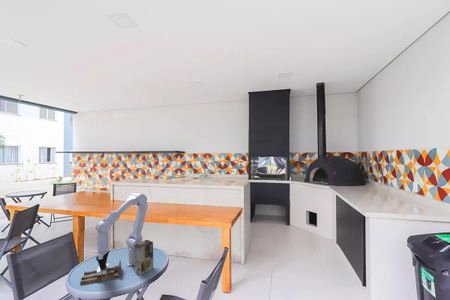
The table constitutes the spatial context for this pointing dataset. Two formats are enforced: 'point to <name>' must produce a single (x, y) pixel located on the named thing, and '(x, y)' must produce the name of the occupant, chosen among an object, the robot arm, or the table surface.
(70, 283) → the table surface
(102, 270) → the press carriage
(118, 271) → the nut press
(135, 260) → the coffee box
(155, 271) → the table surface
